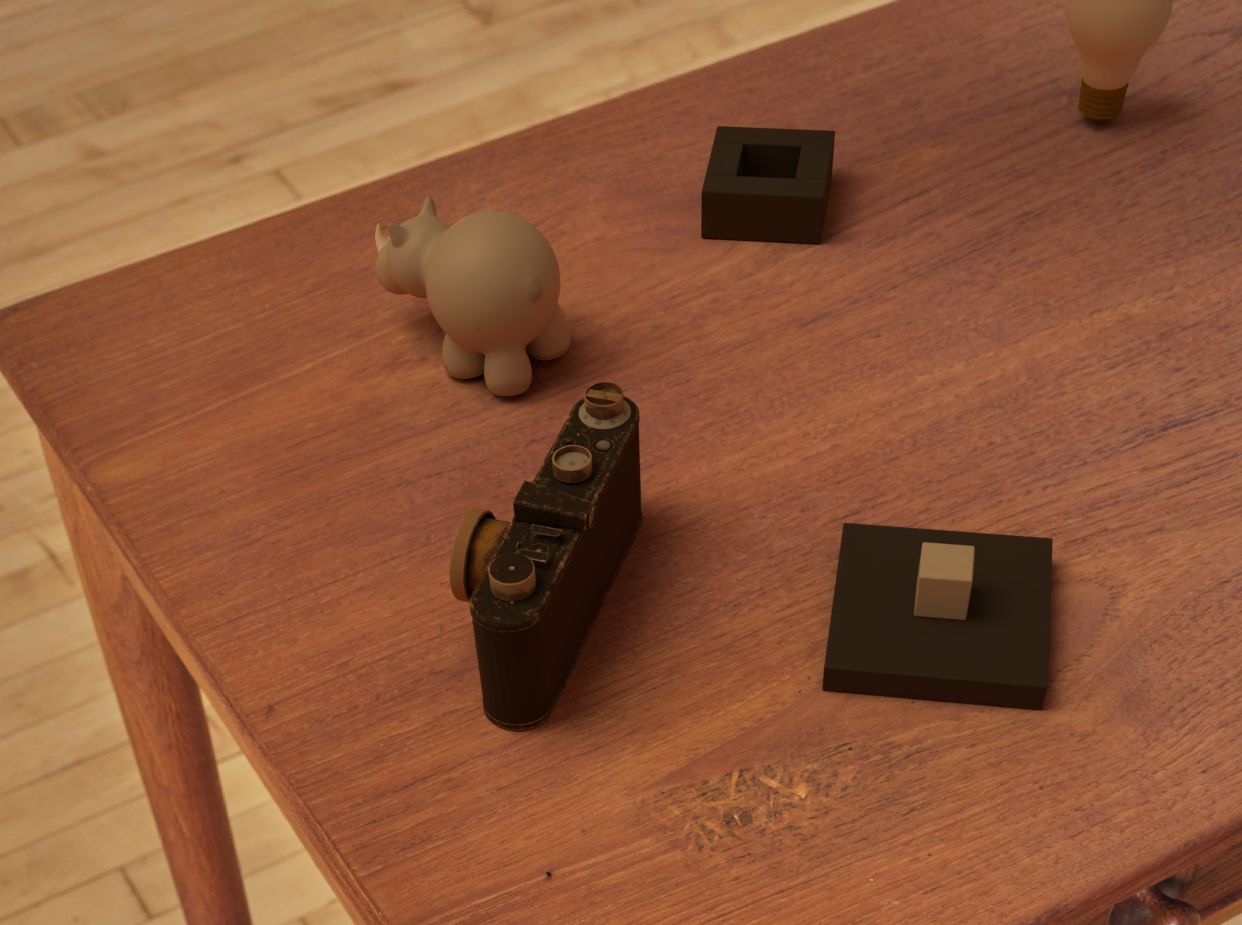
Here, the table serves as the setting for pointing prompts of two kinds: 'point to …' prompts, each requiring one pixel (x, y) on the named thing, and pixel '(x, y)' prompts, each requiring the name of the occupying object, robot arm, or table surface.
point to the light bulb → (1112, 48)
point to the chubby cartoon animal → (480, 291)
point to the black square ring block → (767, 184)
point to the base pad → (941, 616)
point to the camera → (551, 558)
